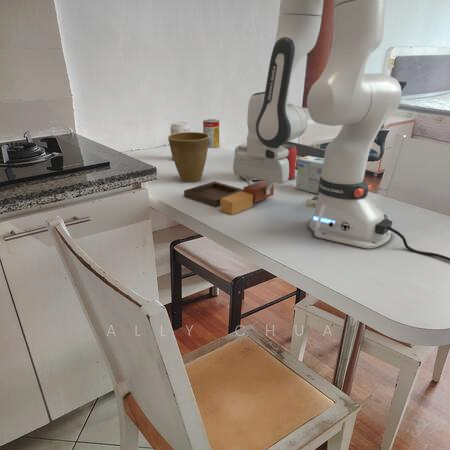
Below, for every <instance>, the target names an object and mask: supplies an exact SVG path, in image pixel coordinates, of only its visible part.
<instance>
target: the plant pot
mask: <svg viewBox="0 0 450 450" xmlns="http://www.w3.org/2000/svg"><path fill="white" fill-rule="evenodd" d="M167 139H168V143H169V148H170V152H171V157H172V156H173V158H172V160H173V162H174V166H175V168H176V170H177V173H178V175H179V178H180V180H181V181H182V182H185V183H197V182H199V181H201V179H202V176H203V173H204V170H205V166H206V162H207V155H208V151H209V149H208V142H209V135H208V134H205V133H203V132H198V131H197V132H196V131H190V132H184V133H176V134H172V135H171V134H170V135H168V136H167Z"/></svg>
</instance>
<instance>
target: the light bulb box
mask: <svg viewBox="0 0 450 450" xmlns="http://www.w3.org/2000/svg"><path fill="white" fill-rule="evenodd" d="M297 161H298V162H297V171H296V181H295V189H297V190H301V191H305V192H308V193H313V194H317V195H318V187H319V181H320V177H321V176H322V170H323V162H324V157H316V156H312V155H306V156H303V157H299V158H298V160H297Z"/></svg>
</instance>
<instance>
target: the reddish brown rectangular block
mask: <svg viewBox="0 0 450 450" xmlns="http://www.w3.org/2000/svg"><path fill="white" fill-rule="evenodd" d="M266 183H267V181H264V180H259V181H257V182H255V183H253V184H251V185H249V186H248V185H246V186H243V189H244V192H246V193H249V194H253V203H257V202H260V201H262V200H265V199H267V198H270V197H272V196H274V191H275V183H274V184H273V186H272V187H271V189H270V194H268V195H266V194H264V189H265V188H266V187H267V186H268V184H266Z"/></svg>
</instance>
